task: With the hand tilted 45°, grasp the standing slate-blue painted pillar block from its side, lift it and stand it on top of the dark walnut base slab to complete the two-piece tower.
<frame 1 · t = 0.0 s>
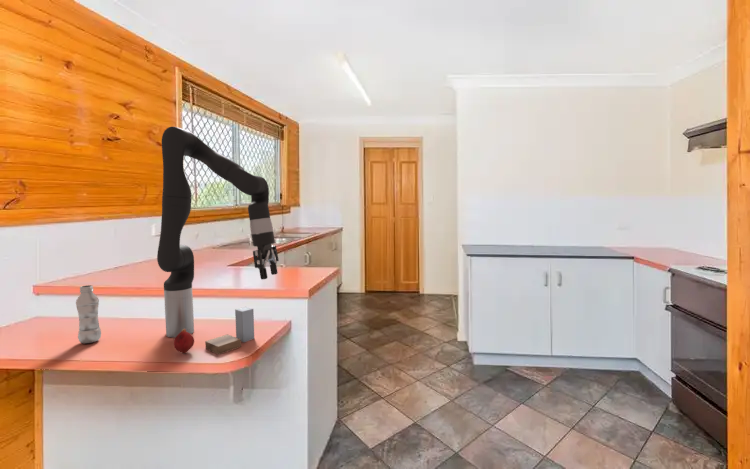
hand: (269, 276, 128), 22 cm above the counter, tool pointing down, fingers open, 8 cm apart
pillar: (245, 339, 129), on the counter
onion: (184, 353, 117), on the counter
base slab: (223, 348, 121), on the counter
plastic bottle: (90, 342, 127), on the counter
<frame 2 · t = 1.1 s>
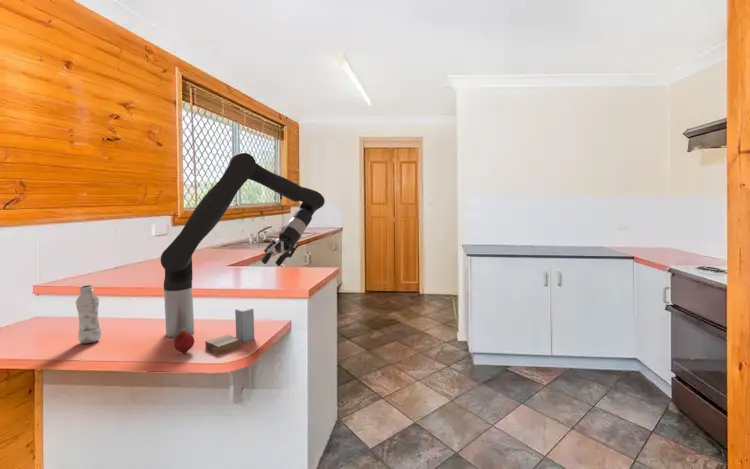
hand: (270, 263, 136), 26 cm above the counter, tool tilted 45°, fingers open, 8 cm apart
nothing on the counter moved.
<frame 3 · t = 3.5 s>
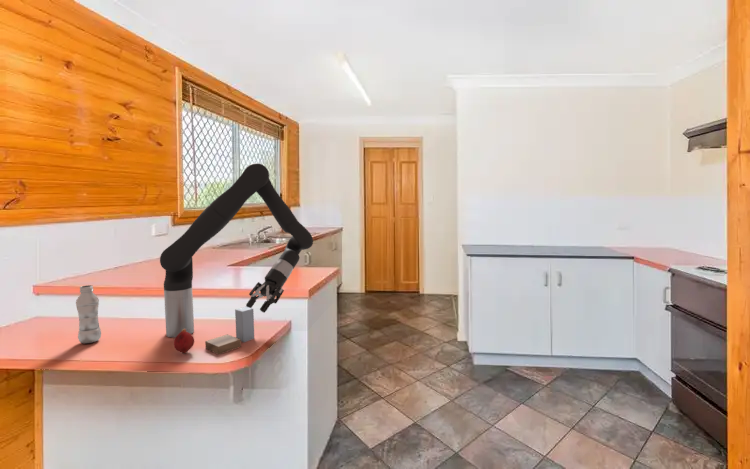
hand: (254, 309, 131), 10 cm above the counter, tool tilted 45°, fingers open, 8 cm apart
nothing on the counter moved.
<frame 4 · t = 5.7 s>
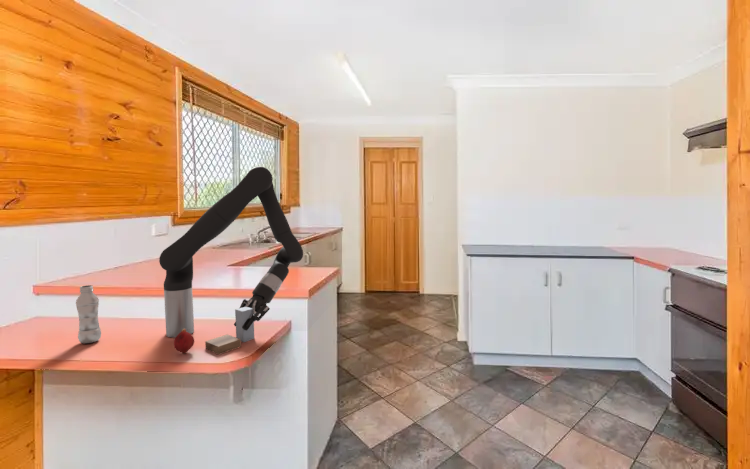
hand: (240, 327, 127), 5 cm above the counter, tool tilted 45°, fingers closed on pillar, 4 cm apart
pillar: (245, 339, 129), on the counter, touching gripper
everything else where it was.
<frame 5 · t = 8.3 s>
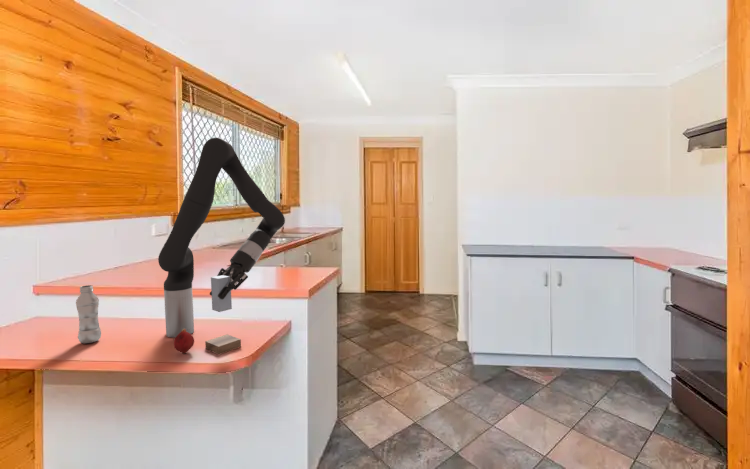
hand: (216, 296, 118), 18 cm above the counter, tool tilted 45°, fingers closed on pillar, 4 cm apart
pillar: (222, 309, 120), point 13 cm above the counter, touching gripper
everything else where it was.
when the fingers open (9 cm above the counter, at t = 10.8 s): pillar drops 1 cm, point 3 cm above the counter.
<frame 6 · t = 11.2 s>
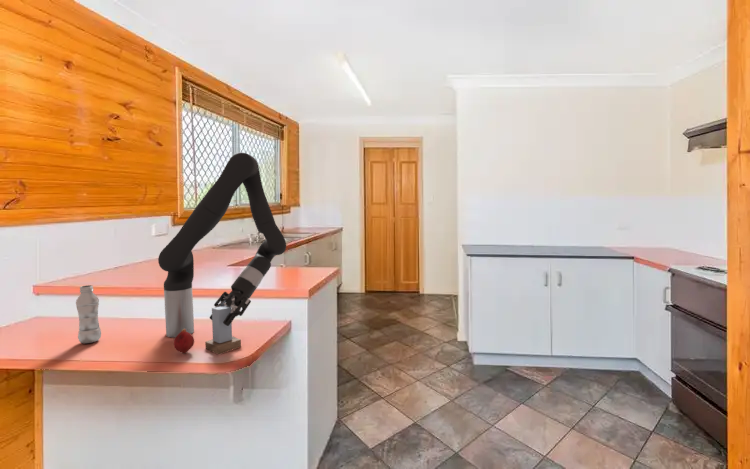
hand: (218, 322, 119), 9 cm above the counter, tool tilted 45°, fingers open, 8 cm apart
pillar: (222, 340, 121), point 3 cm above the counter
everything else where it was.
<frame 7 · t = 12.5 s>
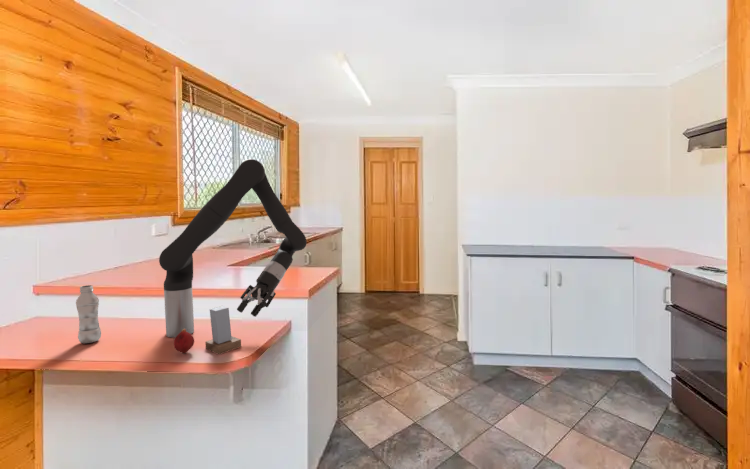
hand: (245, 313, 127), 10 cm above the counter, tool tilted 45°, fingers open, 8 cm apart
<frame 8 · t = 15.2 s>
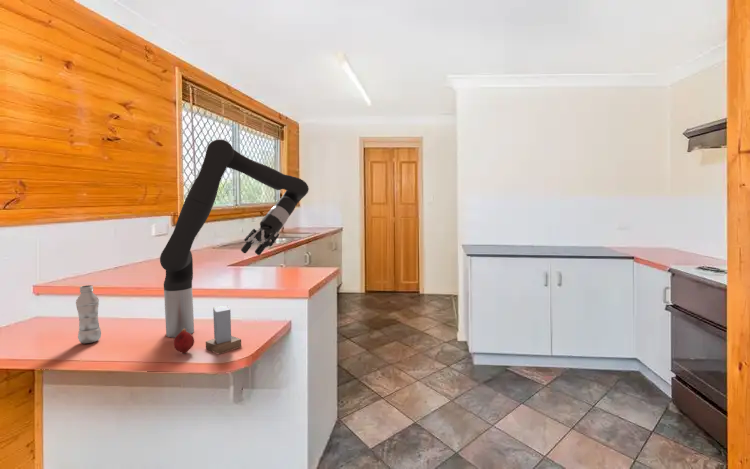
hand: (249, 252, 130), 31 cm above the counter, tool tilted 45°, fingers open, 8 cm apart
at the end: pillar 0.2 cm off-centre on the base slab, point 3.4 cm above the base slab's base; pillar tilted 7°; the gripper is holding nothing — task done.
